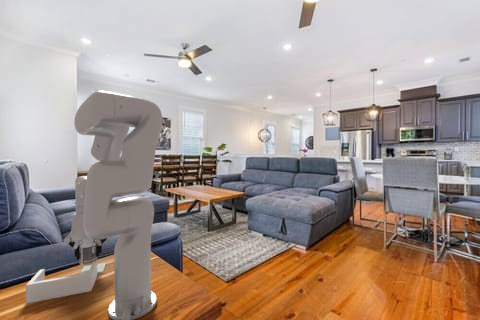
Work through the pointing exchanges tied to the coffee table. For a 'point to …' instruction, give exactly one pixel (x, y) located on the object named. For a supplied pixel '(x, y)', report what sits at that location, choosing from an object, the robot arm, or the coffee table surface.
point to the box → (59, 285)
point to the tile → (99, 268)
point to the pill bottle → (88, 252)
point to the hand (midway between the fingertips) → (88, 256)
